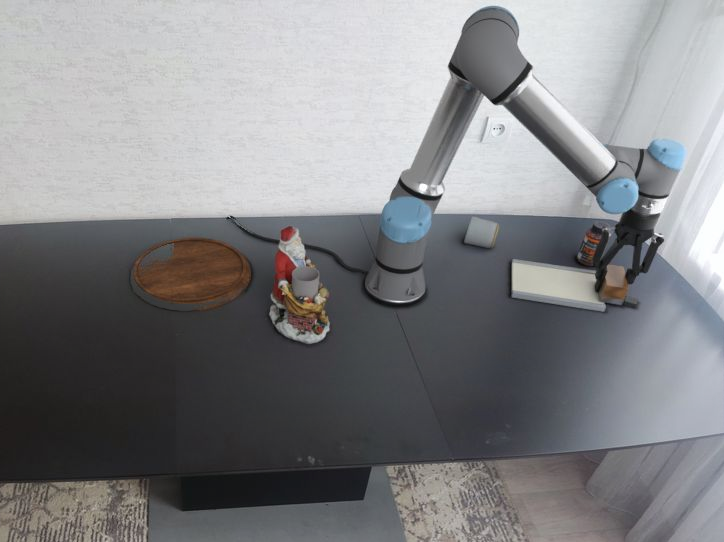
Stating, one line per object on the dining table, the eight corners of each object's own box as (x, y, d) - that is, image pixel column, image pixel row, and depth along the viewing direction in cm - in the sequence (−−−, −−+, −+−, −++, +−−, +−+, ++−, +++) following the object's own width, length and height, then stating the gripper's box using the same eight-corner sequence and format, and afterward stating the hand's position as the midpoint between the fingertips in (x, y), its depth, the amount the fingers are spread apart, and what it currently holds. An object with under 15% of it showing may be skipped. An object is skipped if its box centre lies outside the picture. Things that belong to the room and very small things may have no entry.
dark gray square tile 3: (622, 304, 164) (624, 300, 164) (624, 299, 166) (626, 295, 166) (634, 308, 163) (636, 304, 163) (636, 302, 165) (638, 298, 164)
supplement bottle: (575, 264, 178) (589, 227, 171) (576, 253, 183) (589, 217, 175) (599, 269, 177) (614, 232, 169) (599, 257, 181) (613, 221, 173)
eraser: (599, 301, 163) (606, 285, 160) (595, 279, 171) (602, 263, 167) (621, 305, 162) (628, 288, 159) (616, 282, 169) (623, 266, 166)
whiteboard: (511, 297, 167) (512, 292, 166) (511, 263, 179) (512, 258, 178) (604, 311, 162) (606, 307, 161) (597, 275, 174) (599, 271, 173)
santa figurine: (336, 344, 153) (344, 252, 137) (276, 349, 152) (278, 257, 135) (321, 301, 166) (327, 213, 149) (266, 306, 164) (266, 217, 148)
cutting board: (121, 254, 183) (119, 246, 181) (231, 235, 190) (231, 227, 188) (142, 322, 160) (140, 313, 158) (267, 297, 167) (267, 289, 165)
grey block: (609, 303, 165) (611, 299, 164) (611, 297, 167) (613, 293, 166) (621, 306, 164) (623, 302, 163) (623, 301, 166) (625, 297, 165)
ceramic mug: (492, 253, 182) (498, 229, 177) (462, 247, 185) (467, 223, 180) (496, 236, 190) (503, 211, 185) (467, 230, 192) (473, 206, 187)
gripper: (603, 211, 150) (571, 293, 165) (689, 221, 146) (649, 305, 162) (599, 196, 156) (569, 277, 171) (683, 206, 152) (645, 288, 167)
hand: (608, 291), depth 166 cm, fingers closed on eraser, 5 cm apart
